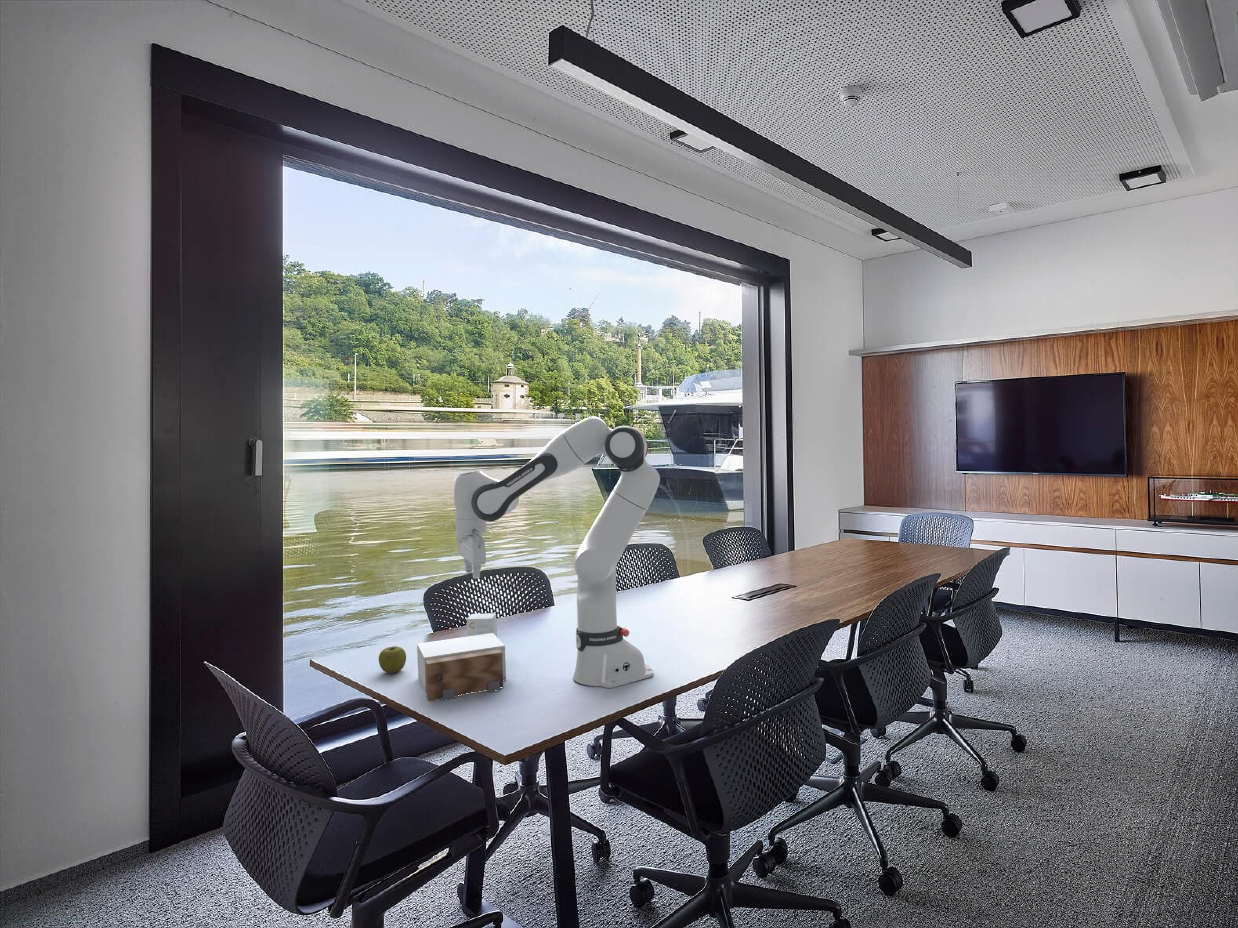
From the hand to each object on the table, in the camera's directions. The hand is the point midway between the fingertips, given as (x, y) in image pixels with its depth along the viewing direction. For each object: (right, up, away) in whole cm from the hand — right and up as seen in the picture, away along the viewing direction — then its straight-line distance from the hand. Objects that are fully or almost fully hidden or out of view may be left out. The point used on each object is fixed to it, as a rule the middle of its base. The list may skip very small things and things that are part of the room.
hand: (472, 575), depth 203 cm
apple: (-25, -30, +5) cm, 39 cm away
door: (+1, -30, -13) cm, 32 cm away
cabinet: (-1, -29, -6) cm, 30 cm away
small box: (0, -28, +17) cm, 33 cm away
